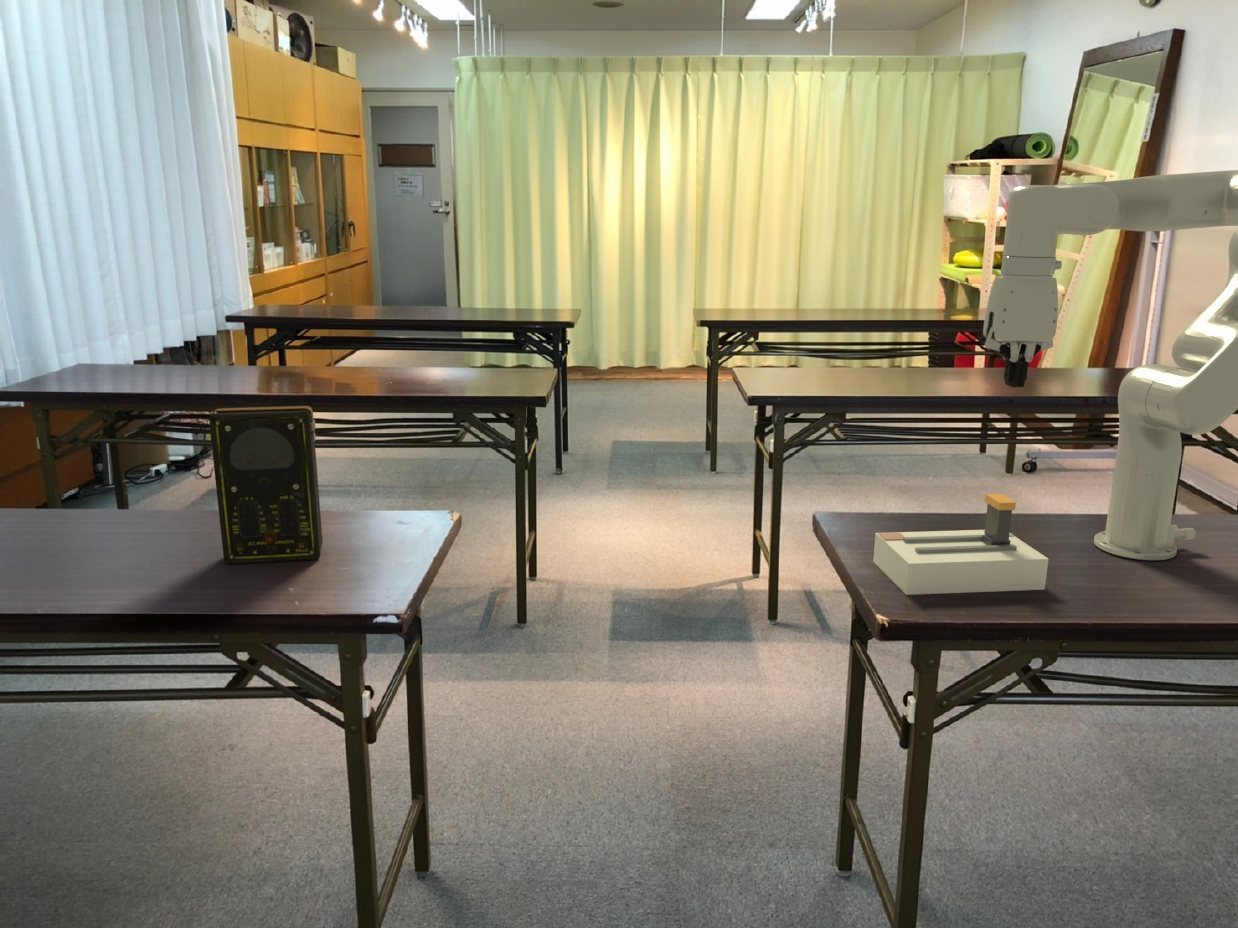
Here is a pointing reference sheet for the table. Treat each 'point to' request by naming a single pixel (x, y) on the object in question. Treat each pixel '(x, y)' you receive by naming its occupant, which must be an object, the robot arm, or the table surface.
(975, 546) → the switch box
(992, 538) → the handle
